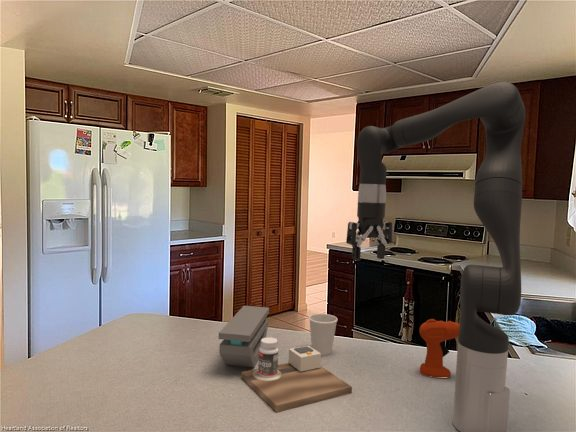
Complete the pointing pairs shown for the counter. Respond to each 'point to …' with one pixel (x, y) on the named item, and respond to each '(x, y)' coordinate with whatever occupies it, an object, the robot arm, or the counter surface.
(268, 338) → the pill bottle
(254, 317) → the gray lidded box
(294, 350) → the white small box
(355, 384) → the counter surface
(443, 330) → the toy drill
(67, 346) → the counter surface
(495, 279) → the robot arm
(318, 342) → the dixie cup
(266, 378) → the wooden board
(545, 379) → the counter surface
